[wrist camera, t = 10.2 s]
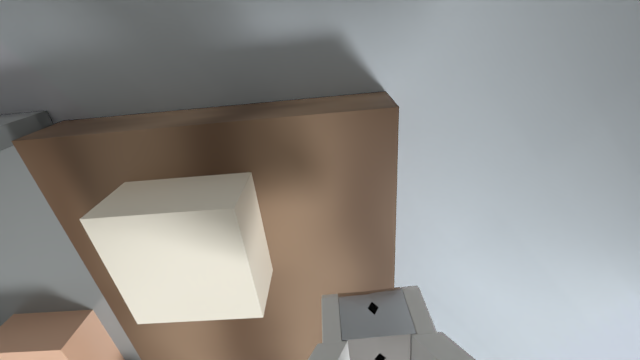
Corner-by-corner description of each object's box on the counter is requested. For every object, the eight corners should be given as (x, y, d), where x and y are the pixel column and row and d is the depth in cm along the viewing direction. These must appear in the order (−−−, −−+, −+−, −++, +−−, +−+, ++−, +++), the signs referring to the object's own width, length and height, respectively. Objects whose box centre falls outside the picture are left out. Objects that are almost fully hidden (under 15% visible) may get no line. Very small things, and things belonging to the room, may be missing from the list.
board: (385, 91, 13) (398, 106, 10) (384, 358, 21) (391, 398, 19) (62, 120, 13) (11, 141, 11) (185, 367, 22) (169, 407, 20)
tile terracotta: (92, 309, 18) (60, 350, 16) (125, 360, 20) (101, 402, 18) (13, 314, 18) (-30, 354, 16) (54, 364, 21) (22, 405, 19)
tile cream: (251, 172, 12) (234, 208, 9) (273, 270, 14) (263, 317, 12) (124, 182, 12) (79, 219, 10) (166, 276, 14) (137, 324, 12)
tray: (46, 110, 13) (-39, 138, 10) (180, 371, 22) (156, 429, 19) (-174, 131, 14) (-319, 163, 11) (43, 377, 23) (-2, 435, 19)
